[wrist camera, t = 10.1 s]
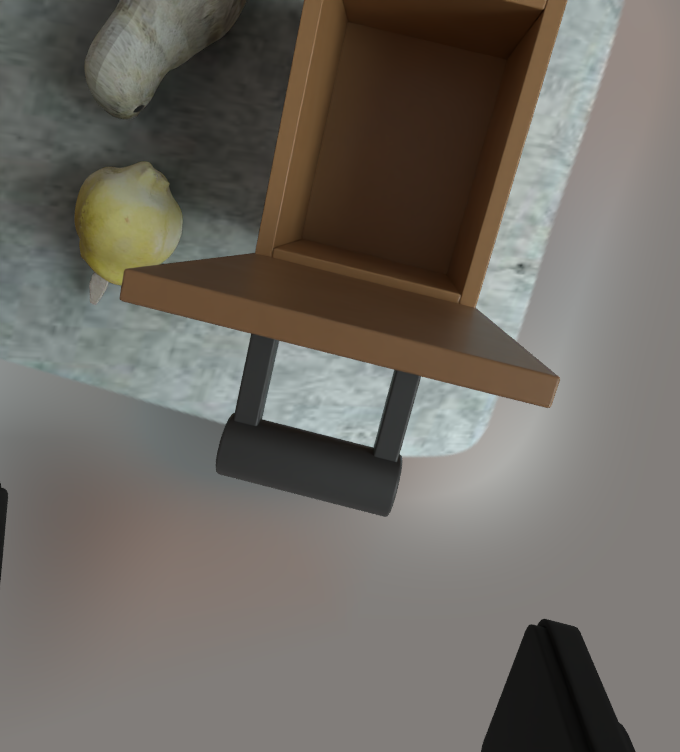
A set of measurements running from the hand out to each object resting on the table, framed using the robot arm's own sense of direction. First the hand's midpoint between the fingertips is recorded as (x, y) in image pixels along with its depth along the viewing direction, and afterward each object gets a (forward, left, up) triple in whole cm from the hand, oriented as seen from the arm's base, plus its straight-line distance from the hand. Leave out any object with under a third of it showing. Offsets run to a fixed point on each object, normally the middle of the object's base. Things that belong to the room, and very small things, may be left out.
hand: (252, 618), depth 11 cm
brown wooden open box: (-10, -3, -30) cm, 32 cm away
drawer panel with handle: (-4, -1, -12) cm, 13 cm away
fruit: (+2, -14, -30) cm, 33 cm away
